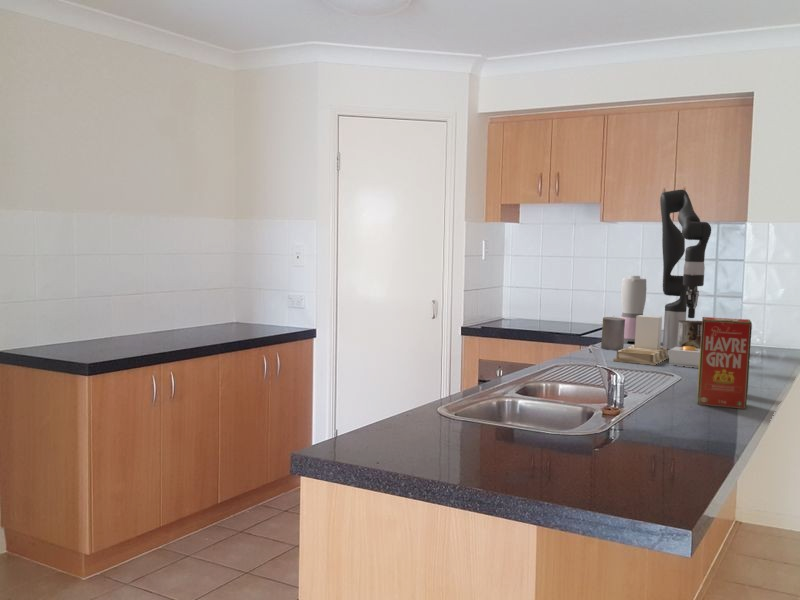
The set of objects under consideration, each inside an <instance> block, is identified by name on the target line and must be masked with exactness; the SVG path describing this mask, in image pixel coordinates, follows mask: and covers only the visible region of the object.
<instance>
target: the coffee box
mask: <svg viewBox="0 0 800 600" xmlns="http://www.w3.org/2000/svg"><path fill="white" fill-rule="evenodd" d="M701 329H702V320H691V319H690V320H687V319H686V320H679V327H678V346H677V347H683V346H691V347H696V349H700V344H701Z"/></svg>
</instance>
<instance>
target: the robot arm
mask: <svg viewBox="0 0 800 600" xmlns="http://www.w3.org/2000/svg"><path fill="white" fill-rule="evenodd" d="M689 196H690V195H689V194H688V192H687V191H686V190H685V189H674V190H669V191H664V192H661V194H660V198H659V203H660V214H661V215H660V216H661V226H662V229H661V230H662V236H661V237H662V240H661V241H662V242H661V243H662V244H661V245H662V246H661V247H662V248H661V249H662V259H663V260H662V261H663V264H662V265H663V269H662V270H663V271H662V292H663V294H664V295H666V296H669V297H671V296H672V297H679V298H678V299H677V300H676V301H673V302H670V303H666V304H665V306H664V318H663V319H664V320H663V337H662V348H668V350H670V349H672V348H674V347H677V346H678V327H679V320H687V318H688V319H695V316H696V308H697V306H698V301H699V296H700V290H699V288H698V287H703V286H704V284H705V271H706V270H705V269H706V267H705V255H706V249H707V245H708V243H709V239H710V237H711V234H712V225H711V224H710V223H708V222H706V221H701V219H700V217H699V216H698V215H697V213H696V211H695V210H694V207H693V205H692V201H691V199H690V197H689ZM673 213H678V214H677V220H678V223H679V224H680V226H681V230H680V229H679V227H678V226H677V225H676V224H675V222H673V219H672V218H671V214H673ZM685 239H686V240H688V241H698V243H697V244H696V245H691V246H688V247H686V240H685ZM685 247H686V248H685ZM684 254H685V256H684ZM683 256H684V265H683V275H677V274H676V275H672V271H673V269H674V268H675V266H676V265H677V264H678V263H679V262H680V260H681V259H682V258H683ZM687 309H688V310H687Z"/></svg>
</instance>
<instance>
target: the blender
mask: <svg viewBox="0 0 800 600" xmlns="http://www.w3.org/2000/svg"><path fill="white" fill-rule="evenodd" d="M620 291H621V292H620V294H621V295H620V302H621V303H620V304H621V310H622V311H621V315H620V318H624V319H625V329H624V344H628V342H634V343H635V331H636V316H639V315H644V309H645V305H646V299H647V279H646V278H641V275H632V274H631V275H629V274H628V277H623V278H622V282H621V290H620Z"/></svg>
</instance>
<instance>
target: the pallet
mask: <svg viewBox="0 0 800 600" xmlns="http://www.w3.org/2000/svg"><path fill="white" fill-rule="evenodd" d="M668 353H669V349H668V348H663V346H660V350H652V349H641V348H635V344H632V345H630V346H627V347H625V348H624V347H623V349H621V350H616V357H614V358H613V362H619V363H620V362H621V363H627V364H635V363H640V364H639V365H645V364H650V365H649V366H654V365H655V366H657V365H659V364H660V362H661V363H663V362H665V361H667V360H669V359H668V358H669V354H668ZM666 359H667V360H666ZM664 360H665V361H664ZM662 361H663V362H662ZM658 363H659V364H658ZM656 364H657V365H656Z"/></svg>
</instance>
